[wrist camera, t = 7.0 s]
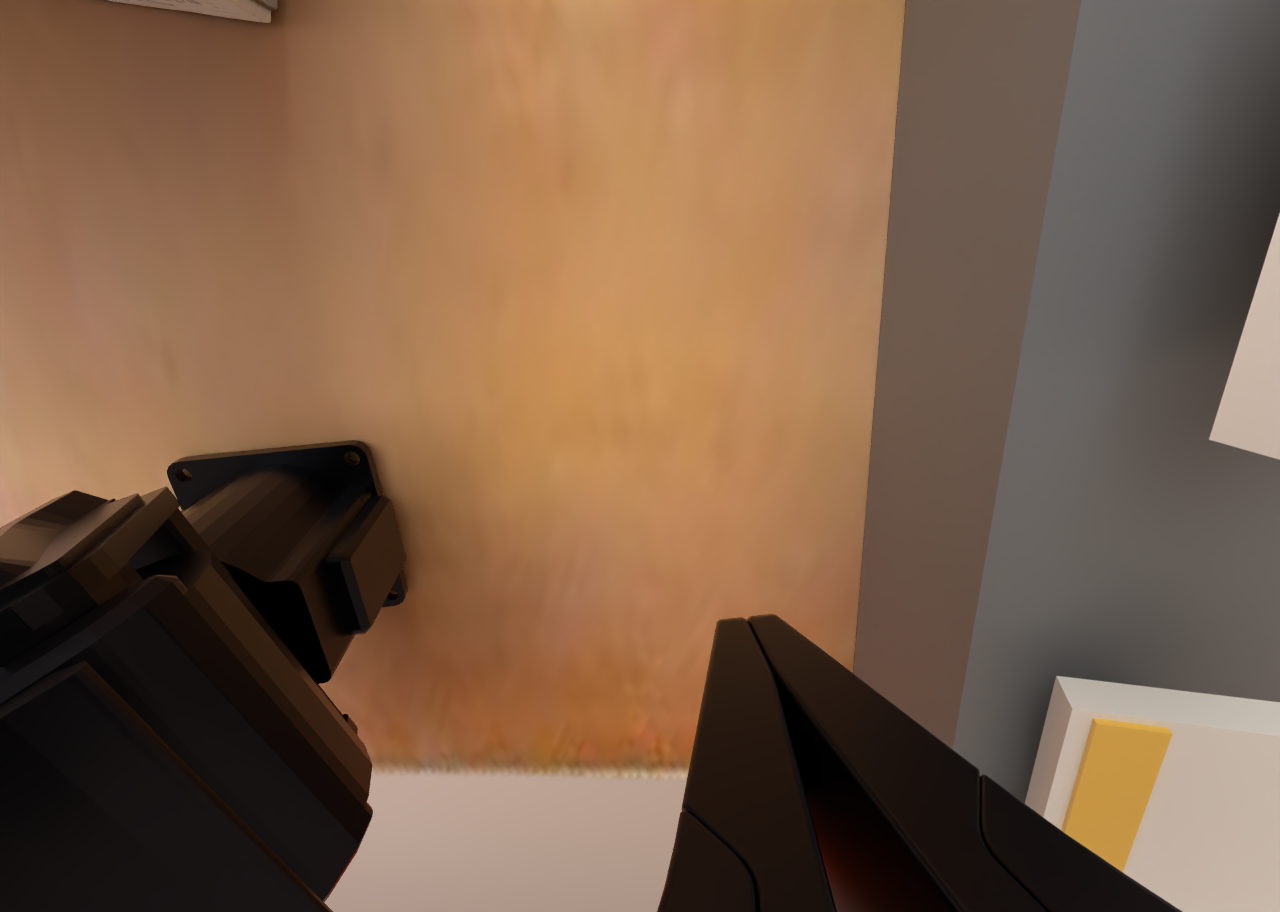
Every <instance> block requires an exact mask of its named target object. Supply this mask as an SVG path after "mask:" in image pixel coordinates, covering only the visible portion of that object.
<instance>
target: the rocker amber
mask: <svg viewBox="0 0 1280 912" xmlns="http://www.w3.org/2000/svg"><path fill="white" fill-rule="evenodd" d="M1025 804H1026V805H1027V806H1029V807H1030V808H1031V809H1033V810H1034V811H1035V812H1037V813H1038V814H1039V815H1041V816H1042V817H1044V818H1045V819H1046V820H1048V821H1049V822H1050V823H1052V824H1053V825H1055V826H1056V827H1057V828H1059V829H1060V830H1061V831H1063V832H1064V833H1065V834H1067V835H1068V836H1070V837H1071V838H1073V839H1074V840H1076V841H1077V842H1079V843H1080V844H1082V845H1083V846H1085V847H1086V848H1088V849H1089V850H1091V851H1092V852H1093V853H1095V854H1096V855H1098V856H1099V857H1101V858H1102V859H1104V860H1105V861H1107V862H1108V863H1110V864H1111V865H1113V866H1114V867H1116V868H1117V869H1119V870H1120V871H1121V872H1123V873H1124V874H1126V875H1127V876H1129V877H1130V878H1132V879H1134V880H1135V881H1137V882H1138V883H1140V884H1141V885H1143V886H1144V887H1146V888H1147V889H1149V890H1150V891H1152V892H1153V893H1155V894H1156V895H1158V896H1159V897H1161V898H1163V899H1164V900H1166V901H1167V902H1169V903H1170V904H1172V905H1173V906H1175V907H1176V908H1178V909H1179V910H1181V911H1182V912H1280V702H1273V701H1264V700H1256V699H1247V698H1239V697H1230V696H1222V695H1214V694H1205V693H1197V692H1188V691H1180V690H1172V689H1163V688H1155V687H1146V686H1138V685H1130V684H1121V683H1113V682H1104V681H1096V680H1088V679H1079V678H1071V677H1062V676H1056V679H1055V683H1054V687H1053V691H1052V695H1051V699H1050V703H1049V707H1048V711H1047V715H1046V719H1045V723H1044V727H1043V731H1042V736H1041V740H1040V744H1039V748H1038V752H1037V756H1036V760H1035V764H1034V768H1033V772H1032V776H1031V780H1030V784H1029V788H1028V792H1027V796H1026V800H1025Z"/></svg>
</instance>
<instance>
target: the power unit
mask: <svg viewBox="0 0 1280 912" xmlns="http://www.w3.org/2000/svg"><path fill="white" fill-rule="evenodd" d="M1279 213H1280V0H906V5H905V18H904V31H903V44H902V57H901V69H900V82H899V95H898V108H897V121H896V133H895V146H894V159H893V172H892V185H891V197H890V210H889V223H888V236H887V248H886V261H885V274H884V287H883V300H882V312H881V325H880V338H879V351H878V364H877V376H876V389H875V402H874V415H873V427H872V440H871V453H870V466H869V479H868V491H867V504H866V517H865V530H864V543H863V555H862V568H861V581H860V594H859V606H858V619H857V632H856V645H855V658H854V670H853V674H854V675H856V676H857V677H858V678H860V679H861V680H862V681H864V682H865V683H866V684H867V685H869V686H870V687H871V688H873V689H874V690H875V691H877V692H878V693H879V694H881V695H882V696H883V697H885V698H886V699H887V700H888V701H890V702H891V703H892V704H894V705H895V706H896V707H898V708H899V709H900V710H902V711H903V712H904V713H906V714H907V715H908V716H909V717H911V718H912V719H913V720H915V721H916V722H917V723H919V724H920V725H921V726H923V727H924V728H925V729H927V730H928V731H929V732H930V733H932V734H933V735H934V736H936V737H937V738H938V739H940V740H941V741H942V742H944V743H945V744H946V745H948V746H949V747H950V748H951V749H953V750H954V751H955V752H957V753H958V754H959V755H961V756H962V757H963V758H965V759H966V760H967V761H969V762H970V763H971V764H972V765H974V766H975V767H976V768H978V769H979V770H980V777H981V776H982V775H987V776H989V777H990V778H991V779H993V780H994V781H995V782H997V783H998V784H999V785H1000V786H1002V787H1003V788H1004V789H1006V790H1007V791H1008V792H1010V793H1011V794H1012V795H1014V796H1015V797H1016V798H1018V799H1019V800H1020V801H1022V802H1023V803H1024V804H1025V800H1026V796H1027V792H1028V788H1029V784H1030V780H1031V776H1032V772H1033V768H1034V764H1035V760H1036V756H1037V752H1038V748H1039V744H1040V740H1041V736H1042V731H1043V727H1044V723H1045V719H1046V715H1047V711H1048V707H1049V703H1050V699H1051V695H1052V691H1053V687H1054V683H1055V679H1056V676H1062V677H1071V678H1079V679H1088V680H1096V681H1104V682H1113V683H1121V684H1130V685H1138V686H1146V687H1155V688H1163V689H1172V690H1180V691H1188V692H1197V693H1205V694H1214V695H1222V696H1230V697H1239V698H1247V699H1256V700H1264V701H1273V702H1280V460H1279V459H1275V458H1272V457H1268V456H1265V455H1261V454H1258V453H1254V452H1251V451H1247V450H1244V449H1240V448H1237V447H1233V446H1230V445H1226V444H1223V443H1219V442H1216V441H1212V440H1209V438H1210V434H1211V431H1212V428H1213V425H1214V422H1215V418H1216V415H1217V412H1218V409H1219V406H1220V402H1221V399H1222V396H1223V393H1224V390H1225V386H1226V383H1227V380H1228V377H1229V374H1230V370H1231V367H1232V364H1233V361H1234V358H1235V354H1236V351H1237V348H1238V345H1239V342H1240V338H1241V335H1242V332H1243V329H1244V325H1245V322H1246V319H1247V316H1248V313H1249V309H1250V306H1251V303H1252V300H1253V297H1254V293H1255V290H1256V287H1257V284H1258V281H1259V277H1260V274H1261V271H1262V268H1263V265H1264V261H1265V258H1266V255H1267V252H1268V249H1269V245H1270V242H1271V239H1272V236H1273V233H1274V229H1275V226H1276V223H1277V220H1278V217H1279Z"/></svg>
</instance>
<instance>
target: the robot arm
mask: <svg viewBox="0 0 1280 912" xmlns="http://www.w3.org/2000/svg"><path fill="white" fill-rule="evenodd" d="M350 451H351V452H355V453H357V454H358V455H359V457H360V461H354V460H353V459H351V458H350V456H349V452H350ZM183 469H186V470H188V471H189V472H190V473H191V475H192V477H188V476H187V475H185V473H184V472H183ZM167 474H168V478H169V481H170V483H171V485H172V488H173V490H174V492H175V495H176V497H177V499H176V498H175V496H174V495H173V494H172V492H171V491H170V490H169V489H168V487H164V488H161V489H158V490H156V491H153V492H151V493H149V494H146V495H144V496H141V497H140V496H139V494H134V495H131V496H129V497H126V498H123V499H120V500H117V501H116V500H115V499H114V498H113V499H111V500H106V499H103V498H99V497H96V496H92V495H89V494H86V493H82V492H79V491H76V490H74V491H72V492H70V493H67V494H65V495H62V496H60V497H57V498H55V499H53V500H51V501H49V502H47V503H45V504H43V505H41V506H40V507H38V508H36V509H34V510H32V511H30V512H28V513H27V514H25V515H23V516H21V517H19V518H17V519H15V520H14V521H12V522H10V523H8V524H6V525H5V526H3V527H1V528H0V912H333V911H332V910H331V909H330V908H329V907H328V906H327V905H326V904H325V903H324V902H325V901H326V899H327V898H328V897H329V895H330V894H331V892H332V891H333V889H334V888H335V886H336V884H337V883H338V881H339V880H340V878H341V876H342V875H343V873H344V872H345V870H346V868H347V867H348V865H349V864H350V862H351V861H352V859H353V857H354V856H355V854H356V853H357V851H358V848H359V846H360V844H361V842H362V839H363V837H364V835H365V832H366V830H367V828H368V826H369V823H370V821H371V818H372V814H373V810H372V808H371V806H370V805H369V804H368V803H367V799H368V796H369V788H370V780H371V771H372V763H371V760H370V757H369V755H368V752H367V750H366V747H365V745H364V743H363V742H362V741H361V740H360V738H359V737H358V736H357V730H358V728H357V726H356V725H355V724H354V722H353V721H352V720H351V719H350V717H349V716H348V715H347V714H343V715H342V714H341V712H340V711H339V710H338V708H337V707H336V706H335V705H334V703H333V702H332V701H331V700H330V698H329V697H328V696H327V695H326V693H325V692H324V691H323V690H322V688H321V687H320V686H319V685H318V684H320V683H325V682H328V681H329V680H330V679H331V677H332V676H333V674H334V672H335V670H336V668H337V667H338V665H339V663H340V661H341V659H342V657H343V656H344V654H345V652H346V650H347V648H348V646H349V645H350V643H351V641H352V639H353V637H354V636H355V635H357V634H365V633H366V632H367V631H368V630H369V629H370V627H371V626H372V625H373V623H374V621H375V619H376V617H377V615H378V613H379V611H380V609H381V607H387V606H395V605H398V604H400V603H401V602H403V600H404V598H405V596H406V594H407V592H408V586H407V582H406V579H405V575H404V571H403V568H402V567H403V565H404V563H405V561H406V555H405V551H404V547H403V544H402V540H401V536H400V532H399V529H398V525H397V521H396V517H395V514H394V510H393V506H392V502H391V500H389V499H388V498H387V497H386V496H385V495H383V494H382V490H381V487H380V483H379V479H378V475H377V472H376V468H375V464H374V461H373V457H372V453H371V451H370V449H369V447H368V446H367V445H365V444H364V443H362V442H360V441H353V440H352V441H342V442H332V443H322V444H312V445H302V446H292V447H282V448H272V449H262V450H252V451H242V452H232V453H221V454H211V455H201V456H191V457H184V458H181V459H179V460H177V461H175V462H174V463H172V464H171V465H170V466H169V467H168V470H167ZM179 506H180V507H181V509H182V511H180V510H179V509H178V507H179ZM391 589H394V590H396V591H397V594H392V593H390V590H391ZM657 912H1182V911H1181V910H1179V909H1178V908H1176V907H1175V906H1173V905H1172V904H1170V903H1169V902H1167V901H1166V900H1164V899H1163V898H1161V897H1159V896H1158V895H1156V894H1155V893H1153V892H1152V891H1150V890H1149V889H1147V888H1146V887H1144V886H1143V885H1141V884H1140V883H1138V882H1137V881H1135V880H1134V879H1132V878H1130V877H1129V876H1127V875H1126V874H1124V873H1123V872H1121V871H1120V870H1119V869H1117V868H1116V867H1114V866H1113V865H1111V864H1110V863H1108V862H1107V861H1105V860H1104V859H1102V858H1101V857H1099V856H1098V855H1096V854H1095V853H1093V852H1092V851H1091V850H1089V849H1088V848H1086V847H1085V846H1083V845H1082V844H1080V843H1079V842H1077V841H1076V840H1074V839H1073V838H1071V837H1070V836H1068V835H1067V834H1065V833H1064V832H1063V831H1061V830H1060V829H1059V828H1057V827H1056V826H1055V825H1053V824H1052V823H1050V822H1049V821H1048V820H1046V819H1045V818H1044V817H1042V816H1041V815H1039V814H1038V813H1037V812H1035V811H1034V810H1033V809H1031V808H1030V807H1029V806H1027V805H1026V804H1024V803H1023V802H1022V801H1020V800H1019V799H1018V798H1016V797H1015V796H1014V795H1012V794H1011V793H1010V792H1008V791H1007V790H1006V789H1004V788H1003V787H1002V786H1000V785H999V784H998V783H997V782H995V781H994V780H993V779H991V778H990V777H989V776H987V775H982V776H981V777H980V770H979V769H978V768H976V767H975V766H974V765H972V764H971V763H970V762H969V761H967V760H966V759H965V758H963V757H962V756H961V755H959V754H958V753H957V752H955V751H954V750H953V749H951V748H950V747H949V746H948V745H946V744H945V743H944V742H942V741H941V740H940V739H938V738H937V737H936V736H934V735H933V734H932V733H930V732H929V731H928V730H927V729H925V728H924V727H923V726H921V725H920V724H919V723H917V722H916V721H915V720H913V719H912V718H911V717H909V716H908V715H907V714H906V713H904V712H903V711H902V710H900V709H899V708H898V707H896V706H895V705H894V704H892V703H891V702H890V701H888V700H887V699H886V698H885V697H883V696H882V695H881V694H879V693H878V692H877V691H875V690H874V689H873V688H871V687H870V686H869V685H867V684H866V683H865V682H864V681H862V680H861V679H860V678H858V677H857V676H856V675H854V674H853V673H852V672H850V671H849V670H848V669H846V668H845V667H844V666H843V665H841V664H840V663H839V662H837V661H836V660H835V659H833V658H832V657H831V656H829V655H828V654H827V653H825V652H824V651H823V650H822V649H820V648H819V647H818V646H816V645H815V644H814V643H812V642H811V641H810V640H808V639H807V638H806V637H804V636H803V635H802V634H800V633H799V632H798V631H797V630H795V629H794V628H793V627H791V626H790V625H789V624H787V623H786V622H785V621H783V620H782V619H781V618H779V617H778V616H776V615H774V614H768V615H759V616H751V617H749V618H748V619H747V620H746V619H744V618H741V617H740V618H730V619H721V620H719V621H718V622H717V625H716V630H715V635H714V640H713V646H712V651H711V656H710V661H709V667H708V672H707V677H706V683H705V688H704V693H703V698H702V704H701V709H700V714H699V719H698V725H697V730H696V735H695V741H694V746H693V751H692V756H691V762H690V767H689V772H688V777H687V783H686V788H685V794H684V799H683V804H682V812H681V813H680V817H679V823H678V828H677V834H676V839H675V844H674V848H673V853H672V857H671V861H670V866H669V870H668V875H667V879H666V883H665V887H664V891H663V894H662V897H661V901H660V904H659V907H658V911H657Z"/></svg>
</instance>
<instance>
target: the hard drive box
mask: <svg viewBox="0 0 1280 912" xmlns="http://www.w3.org/2000/svg"><path fill="white" fill-rule="evenodd" d="M108 1H114V2H121V3H128V4H135V5H142V6H149V7H157V8H164V9H173V10H182V11H188V12H195V13H201V14H207V15H213V16H219V17H226V18H233V19H241V20H248V21H255V22H263V23H270V22H271V11H272V10H276V9H277V7H278V3H277V0H108Z"/></svg>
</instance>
